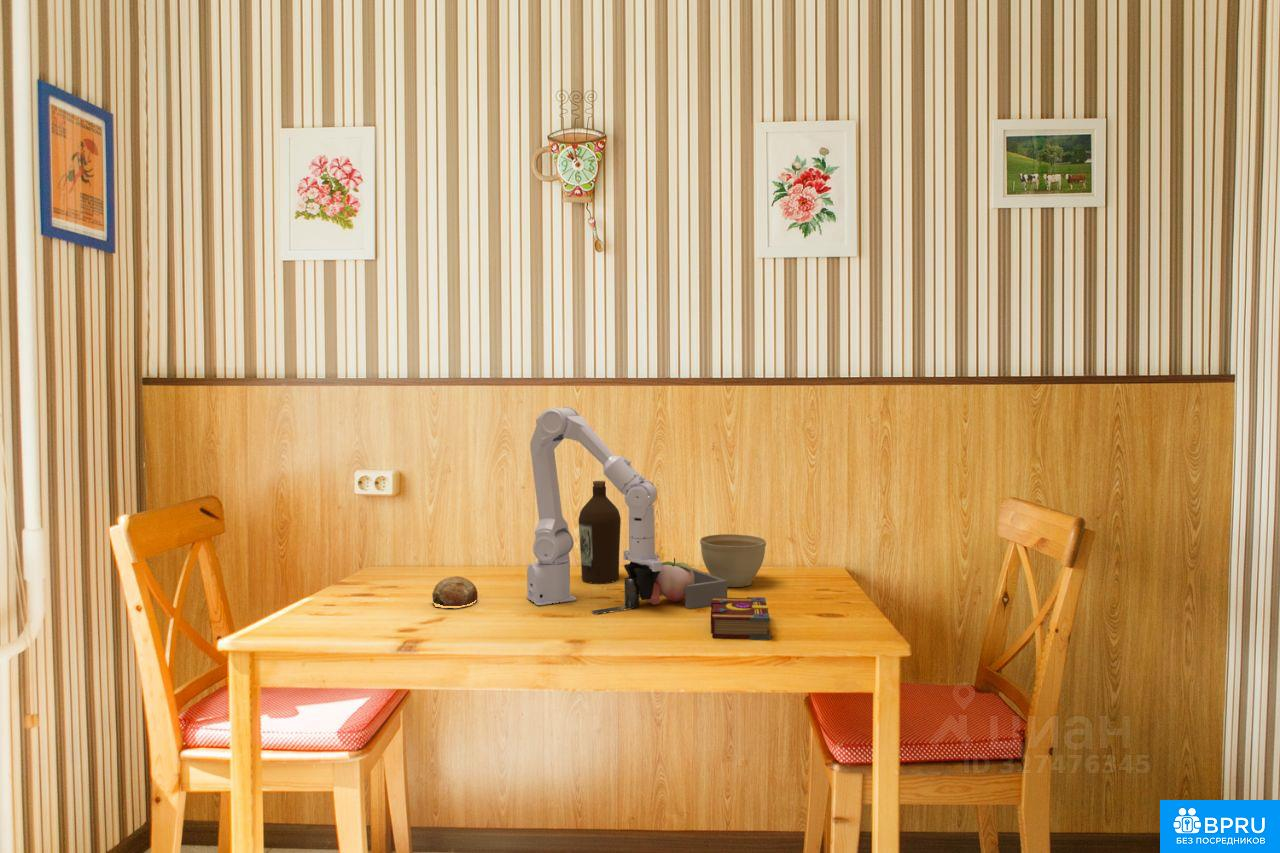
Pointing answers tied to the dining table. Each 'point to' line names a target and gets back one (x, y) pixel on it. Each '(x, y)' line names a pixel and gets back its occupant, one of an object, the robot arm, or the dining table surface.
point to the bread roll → (454, 592)
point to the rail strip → (611, 609)
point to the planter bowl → (733, 557)
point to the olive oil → (599, 537)
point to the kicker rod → (638, 592)
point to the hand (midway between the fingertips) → (642, 597)
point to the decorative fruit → (674, 580)
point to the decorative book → (740, 618)
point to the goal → (704, 590)
